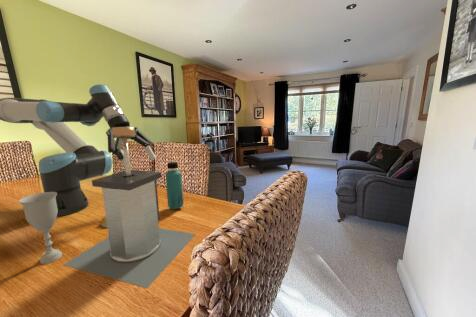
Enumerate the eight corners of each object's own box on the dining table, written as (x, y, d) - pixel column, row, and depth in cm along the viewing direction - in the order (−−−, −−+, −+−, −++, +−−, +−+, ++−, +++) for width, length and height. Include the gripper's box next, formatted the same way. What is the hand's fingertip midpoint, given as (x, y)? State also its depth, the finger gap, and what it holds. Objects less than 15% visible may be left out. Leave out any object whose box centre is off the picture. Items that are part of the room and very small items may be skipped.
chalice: (49, 251, 58) (37, 192, 54) (74, 250, 58) (64, 191, 55) (25, 270, 50) (9, 203, 47) (54, 268, 51) (40, 202, 48)
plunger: (104, 215, 53) (92, 127, 49) (132, 201, 62) (123, 126, 57) (133, 220, 50) (122, 128, 46) (157, 205, 59) (150, 126, 55)
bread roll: (95, 228, 71) (94, 217, 70) (115, 216, 79) (114, 207, 78) (116, 230, 69) (115, 219, 68) (134, 218, 78) (133, 208, 77)
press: (98, 258, 54) (86, 181, 50) (142, 227, 69) (136, 166, 65) (138, 267, 50) (128, 185, 46) (175, 233, 65) (170, 169, 61)
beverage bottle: (179, 212, 81) (176, 164, 78) (164, 211, 83) (160, 163, 79) (186, 206, 88) (184, 161, 84) (172, 205, 89) (169, 160, 85)
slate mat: (63, 266, 52) (63, 264, 52) (131, 224, 72) (130, 223, 72) (147, 290, 44) (147, 288, 44) (195, 235, 65) (195, 234, 65)
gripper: (90, 114, 72) (120, 164, 72) (144, 114, 95) (167, 153, 94) (80, 125, 75) (109, 174, 75) (135, 123, 98) (157, 160, 97)
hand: (142, 162), depth 85 cm, fingers open, 13 cm apart
